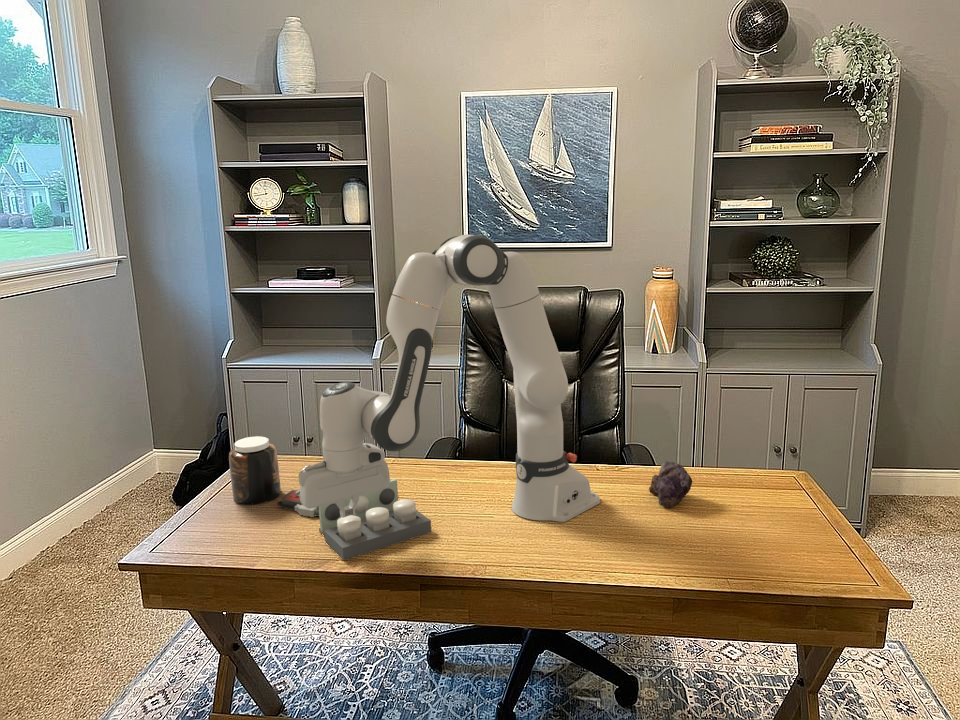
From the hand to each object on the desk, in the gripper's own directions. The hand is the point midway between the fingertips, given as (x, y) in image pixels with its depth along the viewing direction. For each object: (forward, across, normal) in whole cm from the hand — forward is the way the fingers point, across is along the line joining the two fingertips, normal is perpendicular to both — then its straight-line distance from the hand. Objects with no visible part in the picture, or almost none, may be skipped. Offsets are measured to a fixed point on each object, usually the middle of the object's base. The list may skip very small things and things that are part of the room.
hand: (347, 515), depth 168 cm
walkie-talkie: (+8, +1, +23) cm, 24 cm away
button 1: (+6, 0, 0) cm, 6 cm away
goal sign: (+8, +7, +9) cm, 14 cm away
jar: (+8, -8, +40) cm, 42 cm away
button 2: (+6, +14, 0) cm, 15 cm away
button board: (+8, +7, 0) cm, 10 cm away
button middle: (+6, +7, 0) cm, 9 cm away
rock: (+7, +75, -26) cm, 80 cm away
